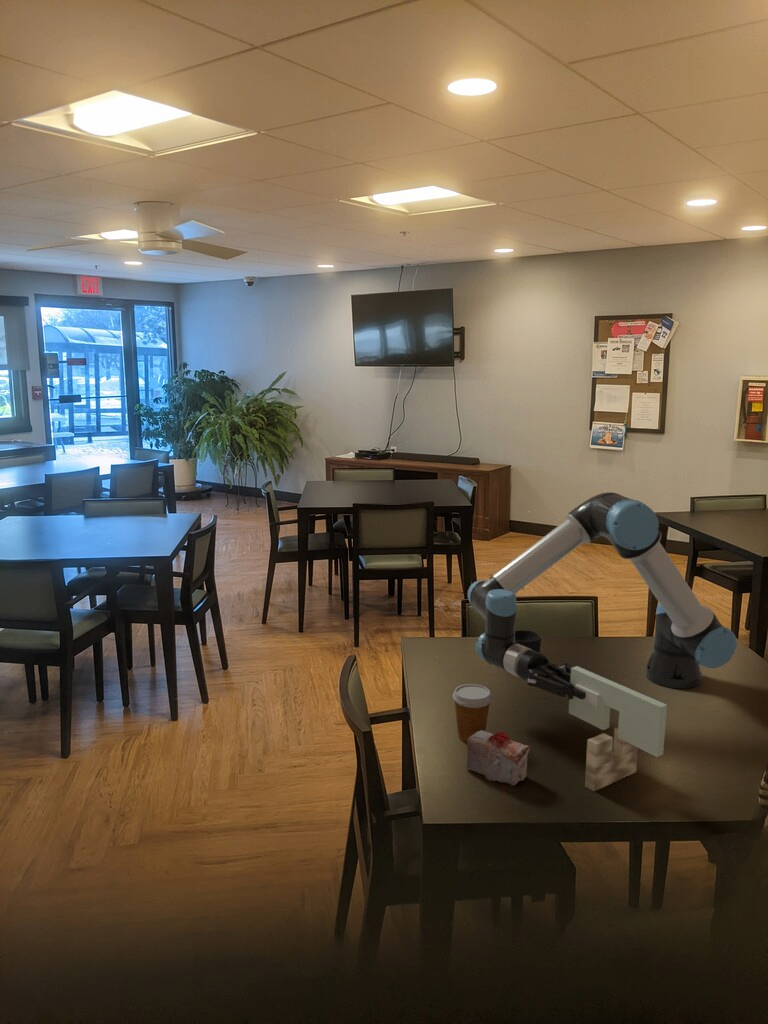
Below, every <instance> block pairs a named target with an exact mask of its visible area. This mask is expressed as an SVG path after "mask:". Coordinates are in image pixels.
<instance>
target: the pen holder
mask: <svg viewBox="0 0 768 1024" xmlns="http://www.w3.org/2000/svg"><path fill="white" fill-rule="evenodd" d="M515 642H516V643H518V644H520V645H522V646H525V647H527V648H530V649H532V650H534V651H536V652H539V653H541V647H542V646H541V644H542V638H541V637H540V636H539V635H538V634H537V633H536V632H534V631H532V630H526V629H523V630H521V629H520V630H519V629H518V630H515Z"/></svg>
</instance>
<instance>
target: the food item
mask: <svg viewBox="0 0 768 1024" xmlns="http://www.w3.org/2000/svg"><path fill="white" fill-rule="evenodd" d="M466 744H467V746H466V747H467V748H466V750H467V751H466V759H467V760H466V769H467V771H468V770H469V771H473V772H475V773H476V774H477V773H478V774H480V775H482V776H484V777H485V778H486V779H487V781H489V782H491V781H492V782H496V781H498V782H499V783H505V784H506V785H510V786H516V785H517V784H518V782H522V781H524V780H525V779H526V777H527V769H528V758H529V753H530V748H531V747H530V745H528V744H523V743H520V742H517V741H514V740H512V739H511V737H510V735H508V734H506V733H505V732H503V731H502V732H501V731H496V732H495V733H494V734H493V733H491V732H488V731H486V730H485V731H483V730H481V731H478V732H476V733H475V734H473V735H471V736H470V737H469V738H468V741H467V742H466Z"/></svg>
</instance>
